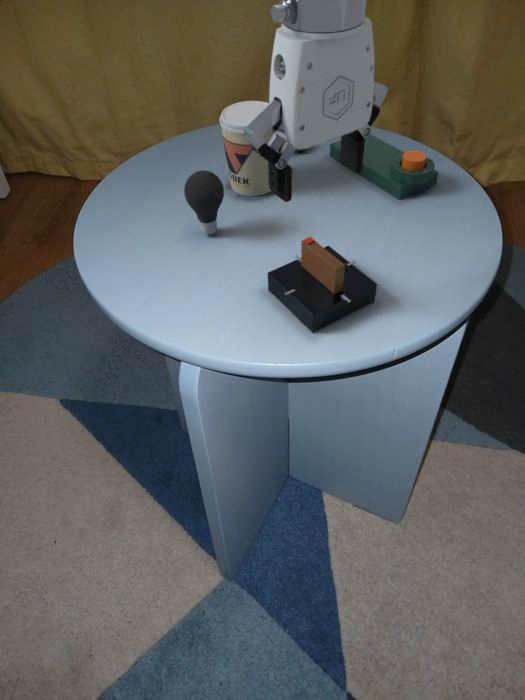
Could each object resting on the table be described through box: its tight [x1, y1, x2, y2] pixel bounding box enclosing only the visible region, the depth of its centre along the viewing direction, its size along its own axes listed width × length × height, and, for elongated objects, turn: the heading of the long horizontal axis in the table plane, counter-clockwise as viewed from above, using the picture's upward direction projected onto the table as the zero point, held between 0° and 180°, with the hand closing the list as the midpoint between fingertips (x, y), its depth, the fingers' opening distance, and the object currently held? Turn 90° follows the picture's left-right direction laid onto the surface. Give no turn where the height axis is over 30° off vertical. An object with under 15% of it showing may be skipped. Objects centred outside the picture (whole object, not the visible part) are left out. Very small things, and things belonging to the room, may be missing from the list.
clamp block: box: [267, 245, 378, 334], centre depth 72 cm, size 11×11×3 cm
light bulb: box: [183, 169, 225, 236], centre depth 80 cm, size 6×6×10 cm
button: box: [401, 149, 427, 171], centre depth 87 cm, size 4×4×2 cm
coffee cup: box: [219, 100, 280, 197], centre depth 88 cm, size 9×9×12 cm
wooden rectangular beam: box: [300, 236, 345, 294], centre depth 69 cm, size 7×1×4 cm, turn 33°
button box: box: [329, 133, 439, 200], centre depth 93 cm, size 19×8×4 cm, turn 33°
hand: (316, 181), depth 62 cm, fingers open, 9 cm apart
